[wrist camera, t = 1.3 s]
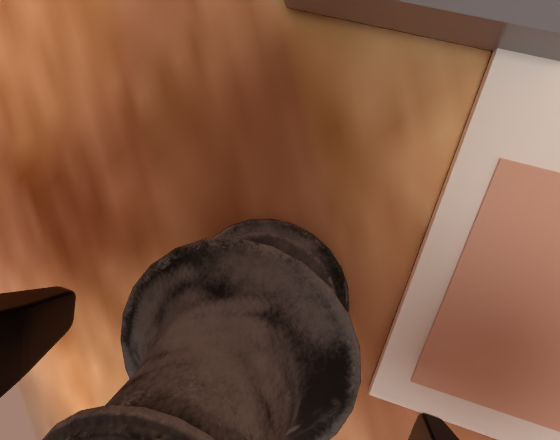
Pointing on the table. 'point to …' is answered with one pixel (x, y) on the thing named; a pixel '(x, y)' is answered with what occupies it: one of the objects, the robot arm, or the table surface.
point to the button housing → (457, 21)
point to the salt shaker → (233, 344)
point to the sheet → (489, 270)
